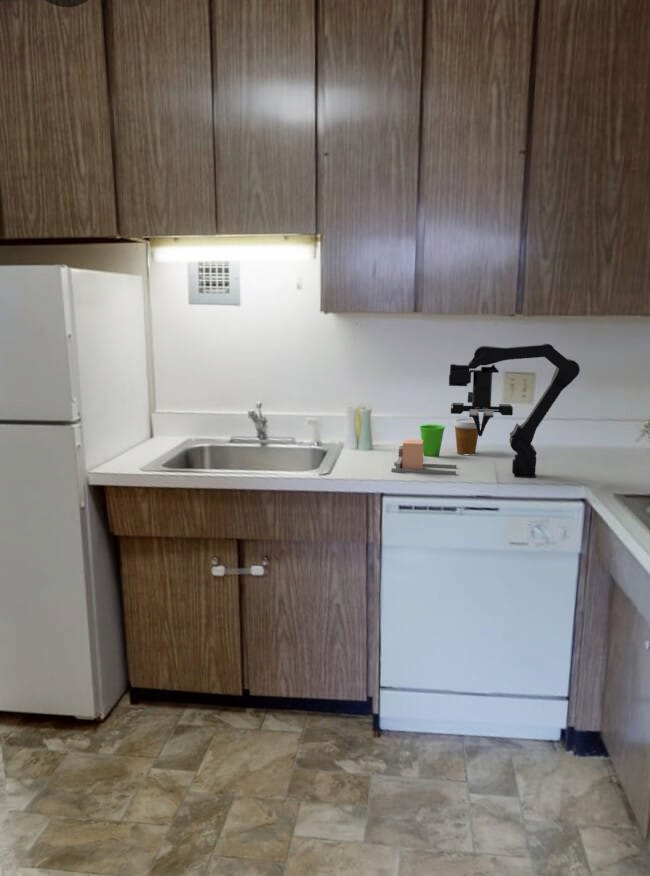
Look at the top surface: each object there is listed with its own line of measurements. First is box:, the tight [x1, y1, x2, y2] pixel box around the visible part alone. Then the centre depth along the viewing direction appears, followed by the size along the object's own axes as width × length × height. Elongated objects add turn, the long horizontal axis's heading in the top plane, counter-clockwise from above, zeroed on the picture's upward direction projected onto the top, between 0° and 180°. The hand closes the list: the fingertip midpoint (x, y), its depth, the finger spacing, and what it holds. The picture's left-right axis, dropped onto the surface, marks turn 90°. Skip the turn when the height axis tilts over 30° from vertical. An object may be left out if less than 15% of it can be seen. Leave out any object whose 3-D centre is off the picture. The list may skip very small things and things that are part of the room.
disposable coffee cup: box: [453, 418, 482, 455], centre depth 240 cm, size 10×10×12 cm
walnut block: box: [398, 445, 403, 458], centre depth 229 cm, size 5×5×5 cm
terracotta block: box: [401, 439, 424, 470], centre depth 213 cm, size 6×6×9 cm
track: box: [390, 456, 458, 476], centre depth 213 cm, size 20×10×4 cm, turn 78°
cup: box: [418, 424, 446, 458], centre depth 234 cm, size 9×9×11 cm
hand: (480, 436), depth 210 cm, fingers closed
